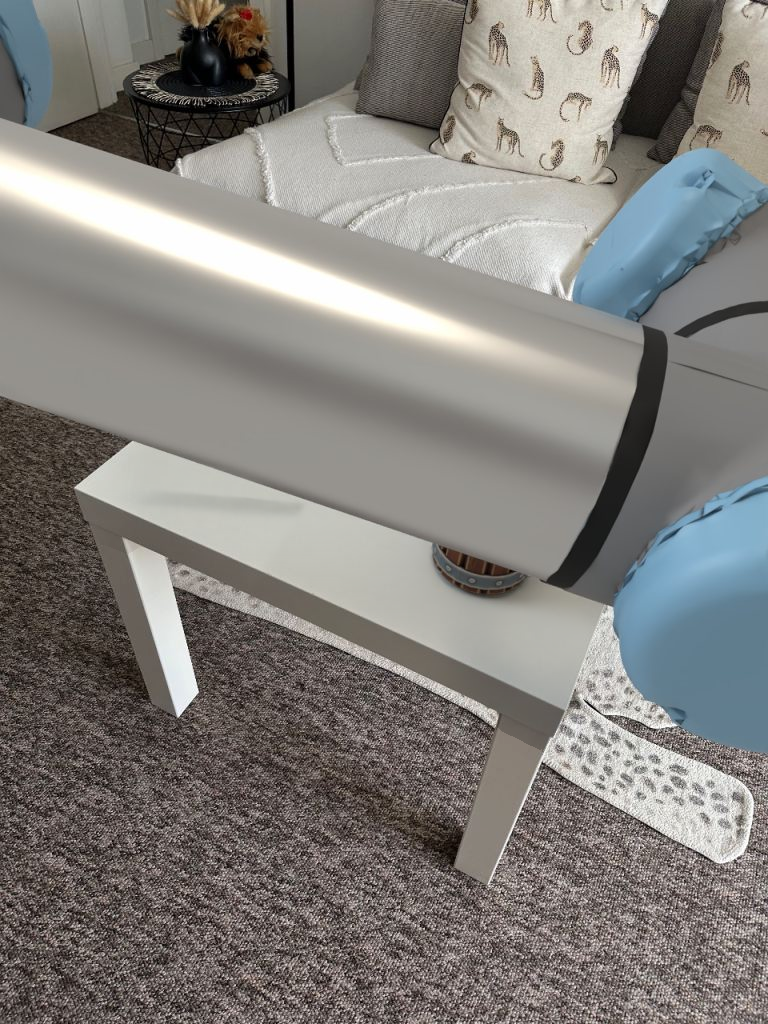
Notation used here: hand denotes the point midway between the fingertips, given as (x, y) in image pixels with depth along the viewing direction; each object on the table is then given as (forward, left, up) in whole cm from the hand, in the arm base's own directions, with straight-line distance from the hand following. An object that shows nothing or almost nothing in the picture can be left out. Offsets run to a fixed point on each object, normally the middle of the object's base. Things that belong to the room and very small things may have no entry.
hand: (554, 492), depth 60 cm
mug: (-3, +8, -15) cm, 18 cm away
